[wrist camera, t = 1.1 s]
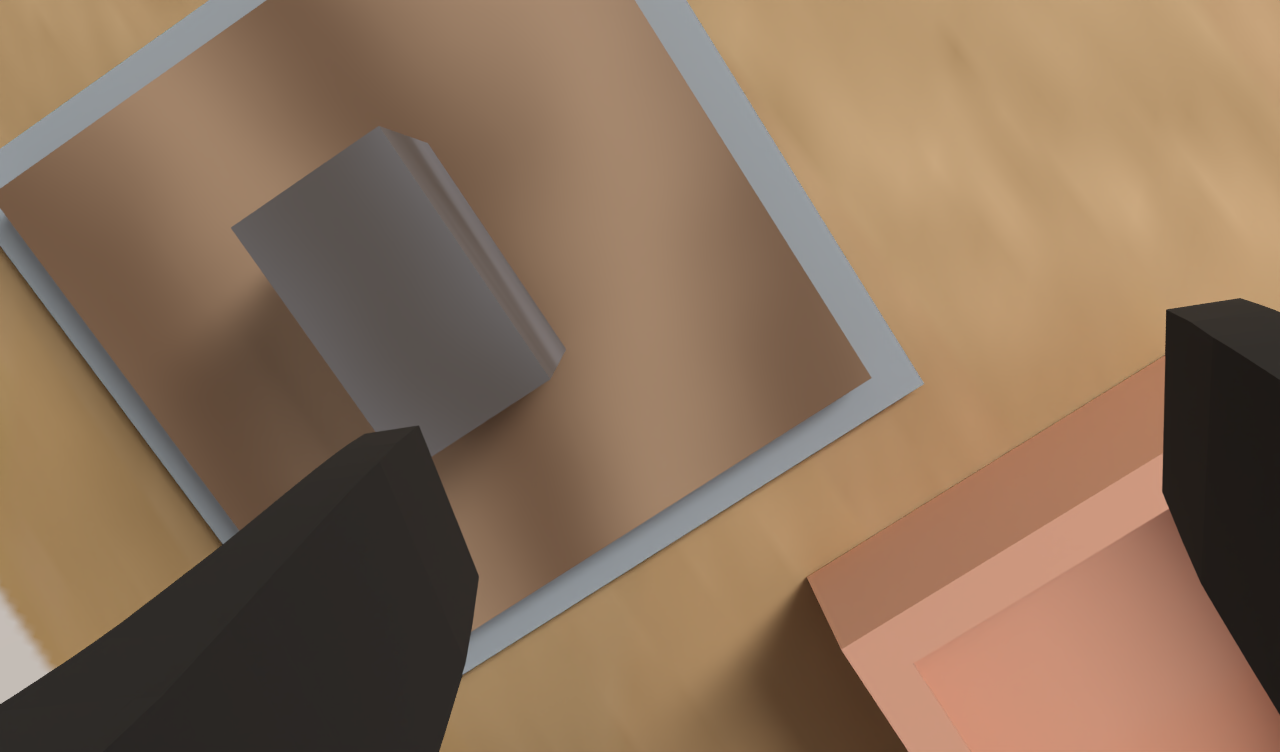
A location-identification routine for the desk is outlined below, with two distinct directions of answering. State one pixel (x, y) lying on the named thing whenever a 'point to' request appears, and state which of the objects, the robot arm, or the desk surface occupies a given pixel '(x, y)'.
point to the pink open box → (1049, 604)
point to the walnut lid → (440, 266)
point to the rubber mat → (887, 385)
